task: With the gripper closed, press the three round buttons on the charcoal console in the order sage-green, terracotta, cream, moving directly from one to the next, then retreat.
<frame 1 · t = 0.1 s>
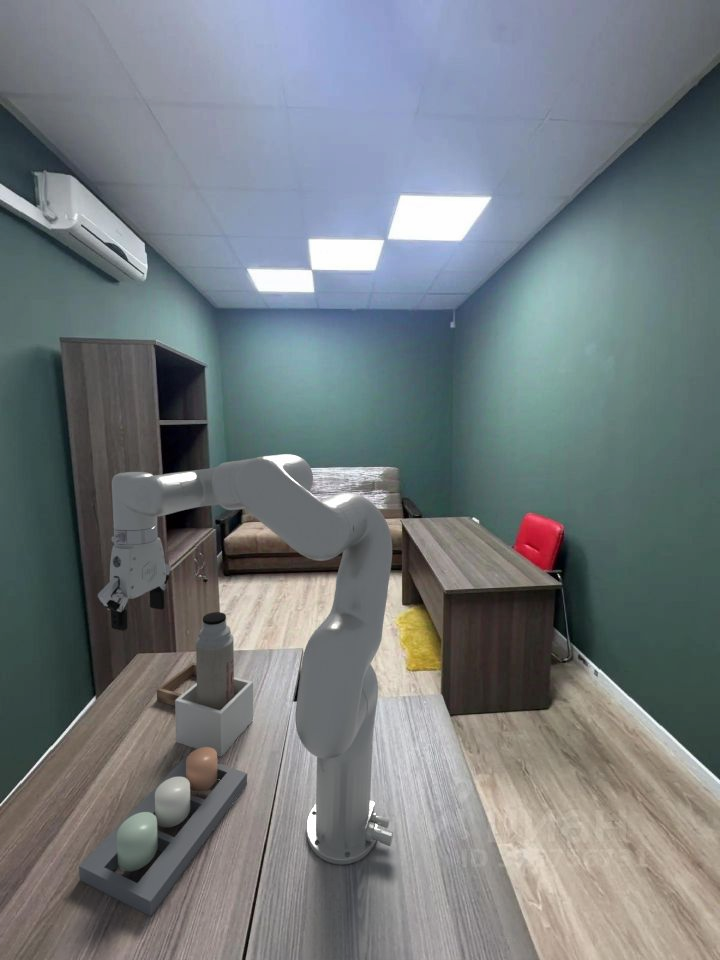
hand: (139, 618, 84), 31 cm above the table, fingers open, 9 cm apart
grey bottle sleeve: (216, 730, 97), on the table
terracotta button: (201, 768, 80), point 5 cm above the table, slide at 0.0 cm
walnut deck tray: (196, 691, 111), on the table
thermos bottle: (216, 731, 97), resting in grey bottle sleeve
console: (173, 826, 74), on the table
cream button: (172, 801, 73), point 5 cm above the table, slide at 0.0 cm
sage button: (137, 840, 66), point 5 cm above the table, slide at 0.0 cm
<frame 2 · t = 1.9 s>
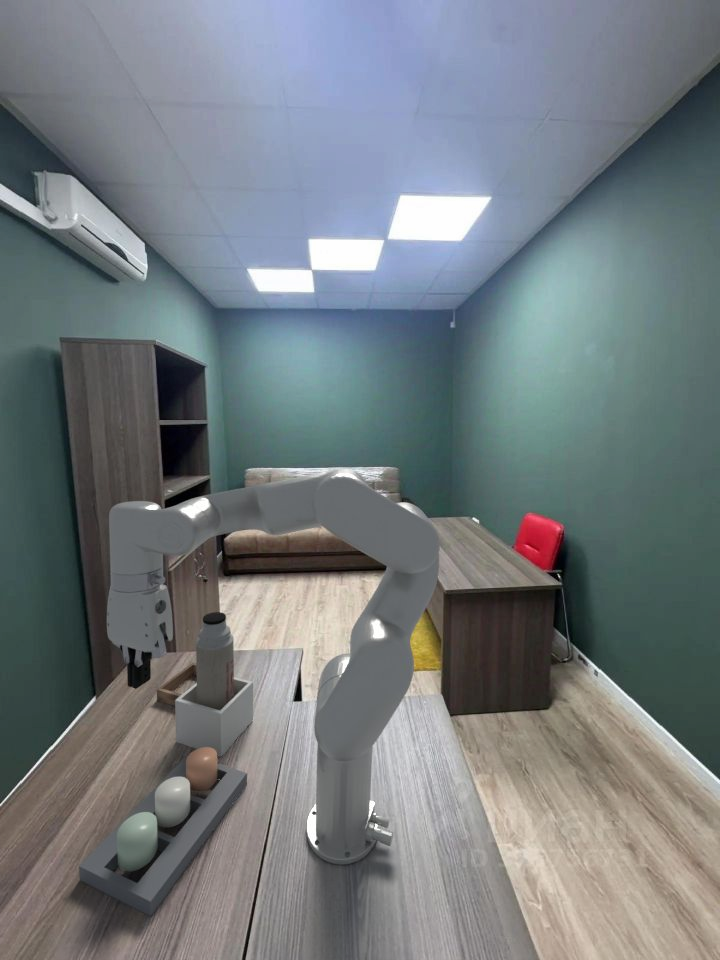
hand: (139, 682, 70), 27 cm above the table, fingers closed
nothing on the table moved.
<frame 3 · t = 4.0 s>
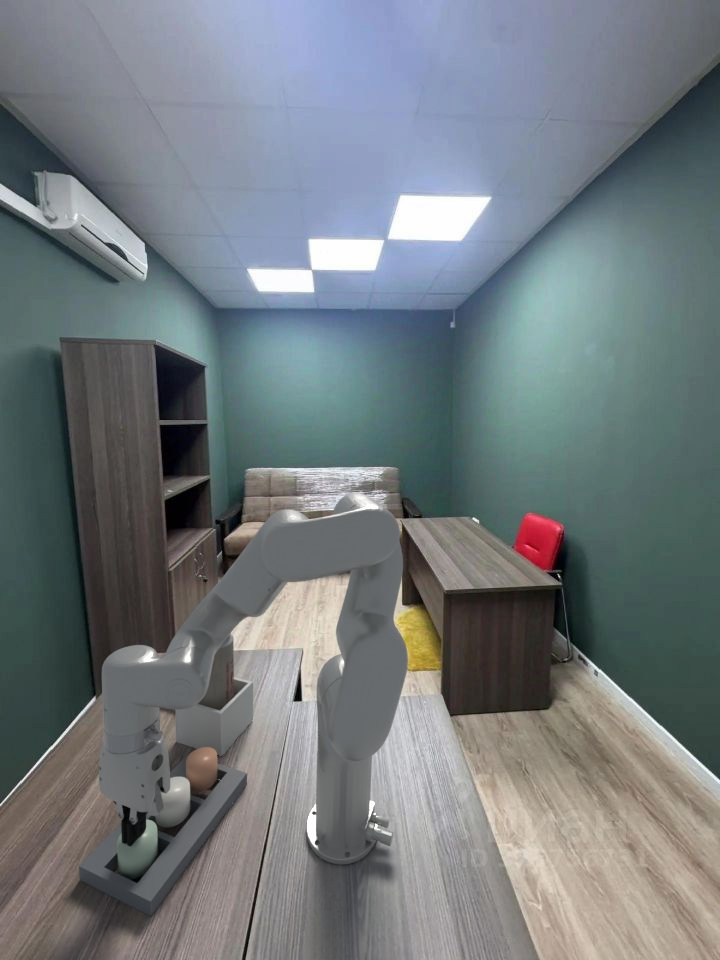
hand: (134, 836, 66), 6 cm above the table, fingers closed
sage button: (138, 848, 66), point 4 cm above the table, slide at -1.4 cm, touching gripper
everything else where it was.
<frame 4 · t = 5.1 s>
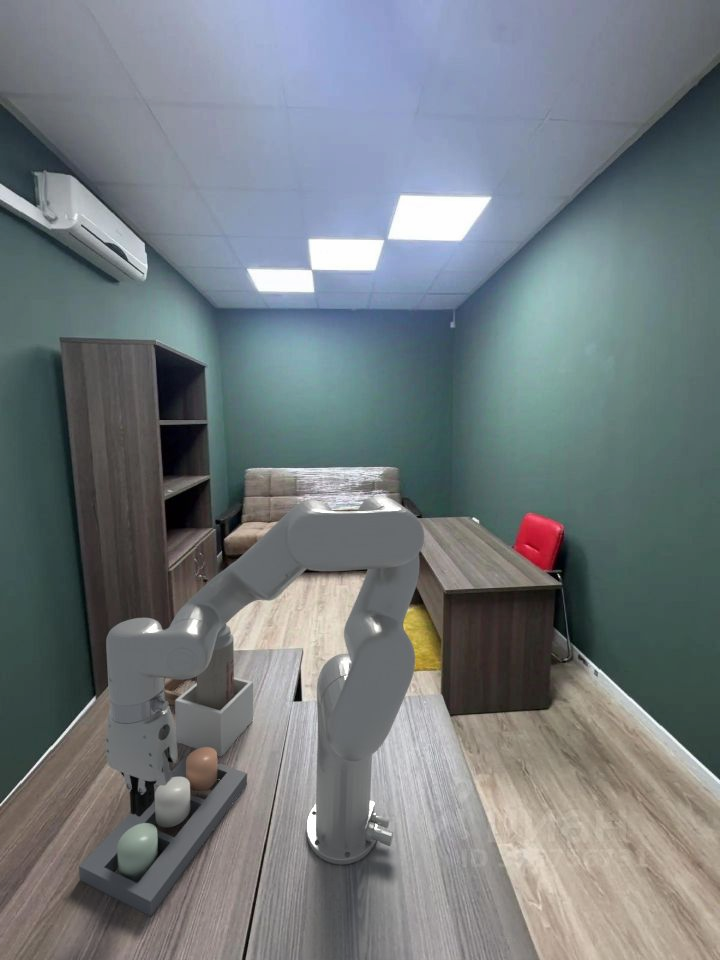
hand: (142, 807, 67), 10 cm above the table, fingers closed
sage button: (138, 851, 67), point 3 cm above the table, slide at -2.0 cm
everything else where it was.
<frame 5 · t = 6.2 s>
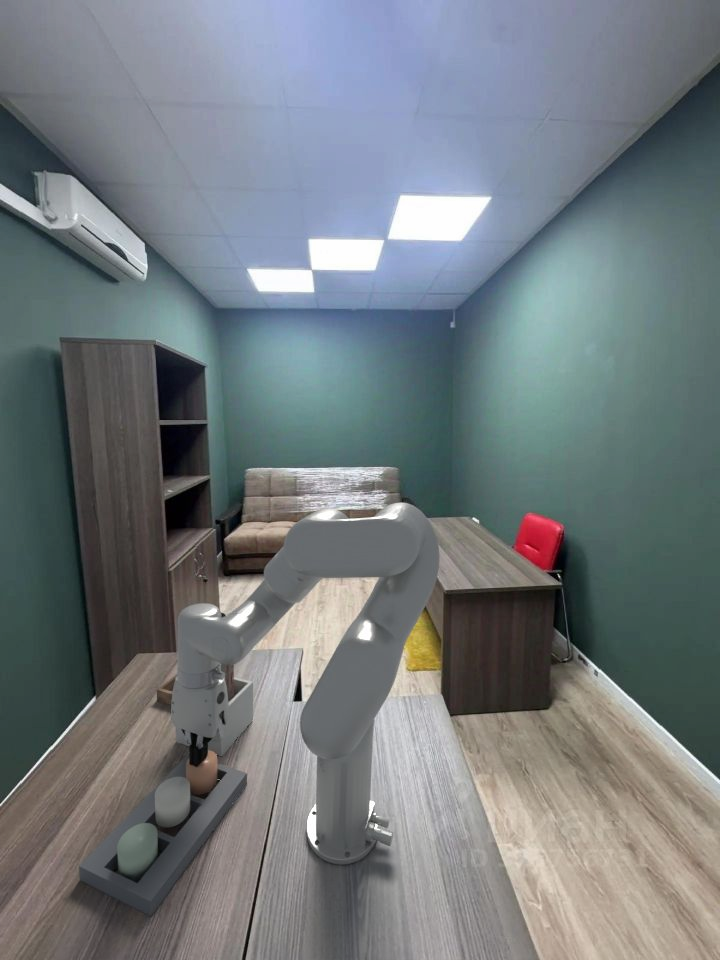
hand: (198, 760, 80), 7 cm above the table, fingers closed
terracotta button: (202, 771, 80), point 4 cm above the table, slide at -0.7 cm, touching gripper
everything else where it was.
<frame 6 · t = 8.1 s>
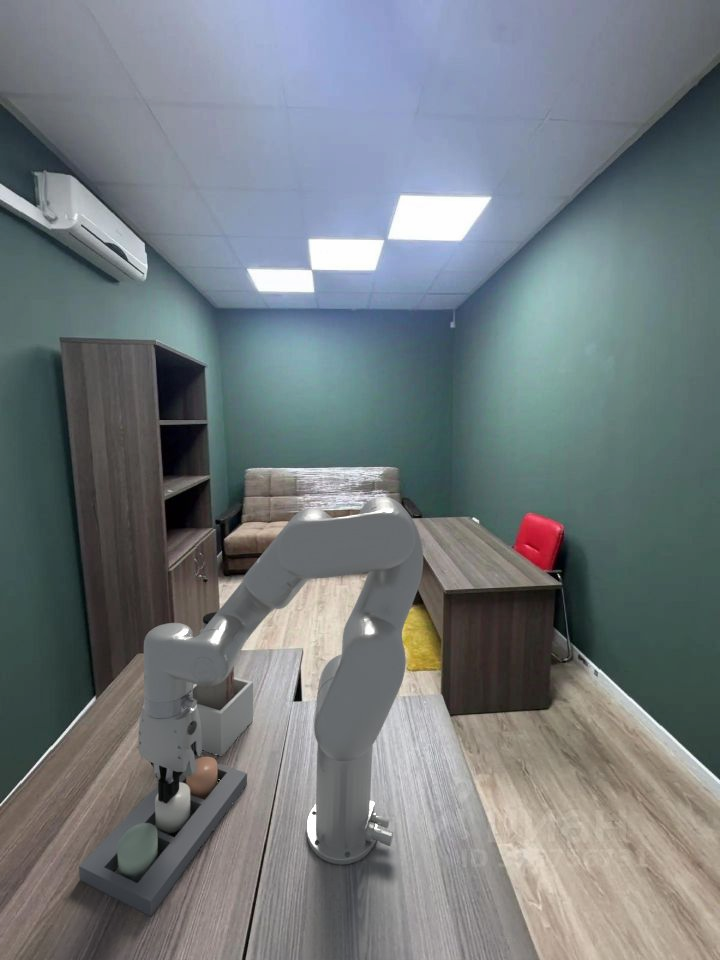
hand: (168, 795, 73), 6 cm above the table, fingers closed
terracotta button: (202, 778, 81), point 3 cm above the table, slide at -2.0 cm
cream button: (173, 807, 73), point 4 cm above the table, slide at -1.2 cm, touching gripper
everything else where it was.
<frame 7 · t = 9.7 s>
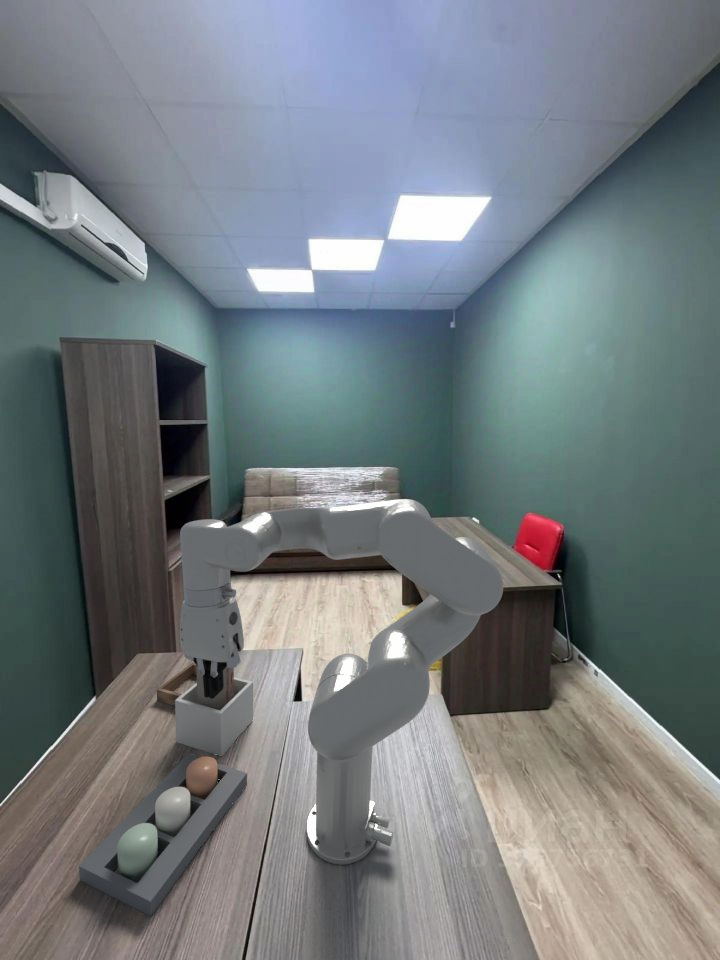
hand: (214, 693, 74), 24 cm above the table, fingers closed
cream button: (173, 811, 74), point 3 cm above the table, slide at -2.0 cm
everything else where it was.
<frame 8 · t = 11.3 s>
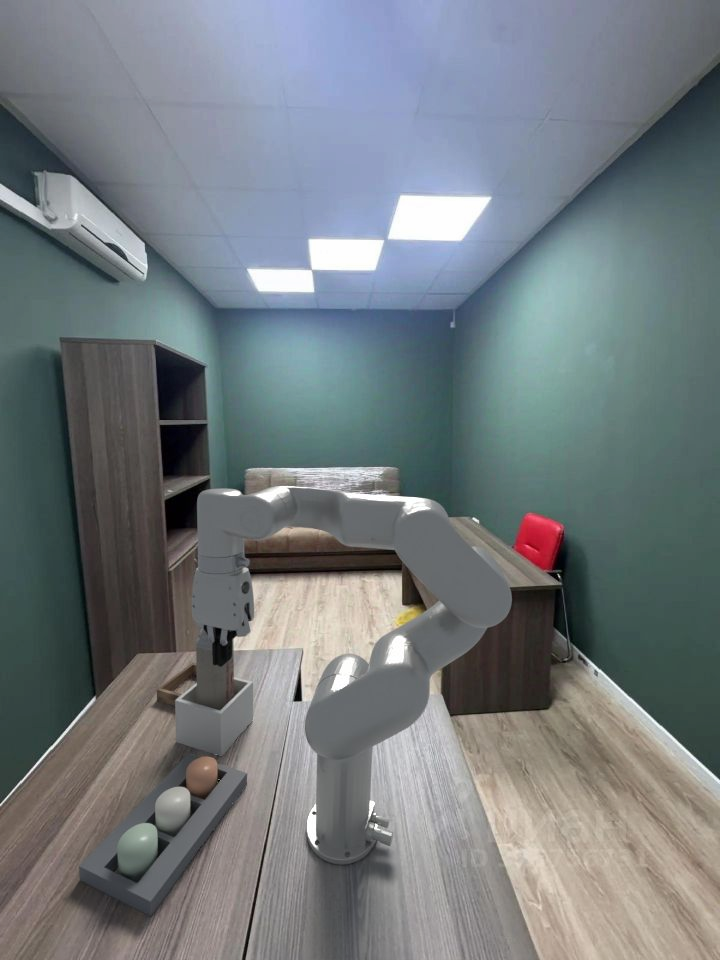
hand: (222, 661, 74), 29 cm above the table, fingers closed
nothing on the table moved.
at the end: sage button slide at -2.0 cm; terracotta button slide at -2.0 cm; cream button slide at -2.0 cm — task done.
